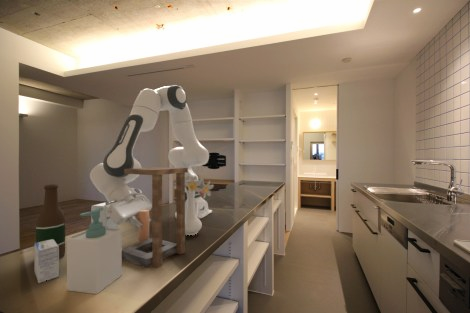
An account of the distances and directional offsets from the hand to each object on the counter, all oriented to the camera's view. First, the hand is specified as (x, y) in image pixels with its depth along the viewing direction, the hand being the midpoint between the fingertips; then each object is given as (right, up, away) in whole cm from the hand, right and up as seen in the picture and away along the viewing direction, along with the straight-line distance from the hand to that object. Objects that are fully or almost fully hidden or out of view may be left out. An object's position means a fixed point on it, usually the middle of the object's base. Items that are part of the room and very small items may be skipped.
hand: (145, 224), depth 83 cm
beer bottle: (-26, -7, -12) cm, 29 cm away
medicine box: (-18, -7, -23) cm, 30 cm away
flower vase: (+16, -7, +10) cm, 21 cm away
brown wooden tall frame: (+8, -7, -11) cm, 15 cm away
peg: (-1, -7, 0) cm, 7 cm away
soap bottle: (-2, -7, -27) cm, 28 cm away
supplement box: (-22, -7, +11) cm, 26 cm away
